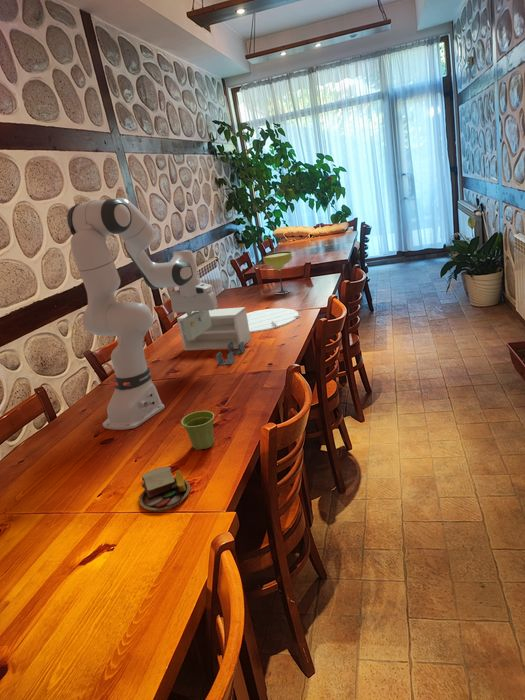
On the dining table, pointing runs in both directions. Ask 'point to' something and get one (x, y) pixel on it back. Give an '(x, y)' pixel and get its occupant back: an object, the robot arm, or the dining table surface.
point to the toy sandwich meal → (163, 489)
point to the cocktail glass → (278, 262)
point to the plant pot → (200, 429)
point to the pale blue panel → (196, 324)
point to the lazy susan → (270, 318)
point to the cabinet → (219, 330)
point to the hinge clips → (230, 354)
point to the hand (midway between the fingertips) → (197, 321)
